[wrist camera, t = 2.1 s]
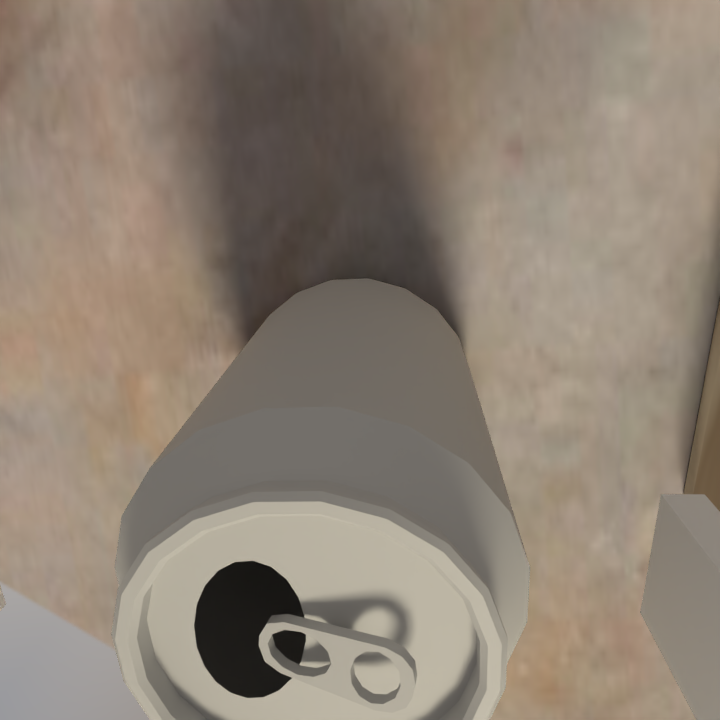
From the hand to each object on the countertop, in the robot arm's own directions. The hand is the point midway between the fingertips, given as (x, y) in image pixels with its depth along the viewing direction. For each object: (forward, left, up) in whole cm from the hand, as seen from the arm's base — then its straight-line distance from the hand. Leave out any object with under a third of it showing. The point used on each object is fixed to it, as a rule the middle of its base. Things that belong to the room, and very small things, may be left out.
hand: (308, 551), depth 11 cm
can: (0, 0, -10) cm, 10 cm away
